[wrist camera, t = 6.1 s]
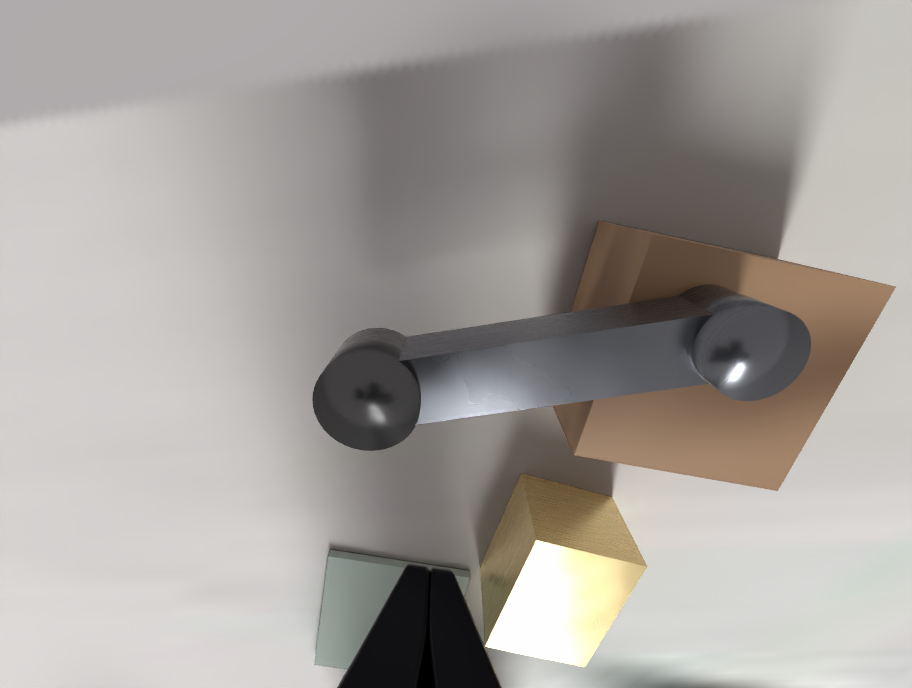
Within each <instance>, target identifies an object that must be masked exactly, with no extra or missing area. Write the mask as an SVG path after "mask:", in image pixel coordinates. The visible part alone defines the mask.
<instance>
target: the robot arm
mask: <svg viewBox="0 0 912 688" xmlns="http://www.w3.org/2000/svg"><path fill="white" fill-rule="evenodd" d="M337 688H502V687H501V685H500V682H499V680H498V677H497V675H496V673H495V670H494V668H493V665H492V663H491V661H490V658H489V656H488V653H487V651H486V649H485V646H484V644H483V641H482V639H481V637H480V634H479V632H478V629H477V627H476V625H475V622H474V620H473V617H472V615H471V613H470V610H469V608H468V605H467V603H466V601H465V598H464V596H463V593H462V591H461V589H460V586H459V584H458V581H457V579H456V577H455V574H454V573H453V571H452V570H450V569H444V568H437V567H432V568H431V569H430V570H429V568H428V567H427V566H424V565H418V564H411V563H410V564H407V565H406V566H405V568H404V570H403V572H402V573H401V575H400V577H399V579H398V580H397V582H396V584H395V586H394V588H393V589H392V591H391V593H390V595H389V596H388V598H387V600H386V602H385V604H384V605H383V607H382V609H381V611H380V613H379V614H378V616H377V618H376V620H375V621H374V623H373V625H372V627H371V629H370V630H369V632H368V634H367V636H366V637H365V639H364V641H363V643H362V645H361V646H360V648H359V650H358V652H357V653H356V655H355V657H354V659H353V661H352V662H351V664H350V666H349V668H348V669H347V671H346V673H345V675H344V677H343V678H342V680H341V682H340V684H339V685H338V687H337Z"/></svg>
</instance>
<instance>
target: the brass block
mask: <svg viewBox="0 0 912 688" xmlns="http://www.w3.org/2000/svg"><path fill="white" fill-rule="evenodd" d="M646 568H647V565H646V563H645V561H644V559H643V557H642V555H641V553H640V551H639V549H638V547H637V545H636V543H635V541H634V539H633V537H632V535H631V533H630V531H629V530H628V528H627V526H626V524H625V522H624V520H623V518H622V516H621V514H620V512H619V510H618V508H617V506H616V504H615V502H614V500H613V498H612V497H611V496H607V495H603V494H599V493H595V492H591V491H587V490H583V489H580V488H576V487H572V486H568V485H564V484H560V483H556V482H552V481H548V480H545V479H541V478H537V477H533V476H529V475H525V474H521V475H520V477H519V480H518V482H517V484H516V487H515V489H514V491H513V493H512V496H511V498H510V500H509V503H508V505H507V507H506V509H505V512H504V514H503V516H502V519H501V521H500V523H499V525H498V528H497V530H496V532H495V535H494V537H493V539H492V542H491V544H490V546H489V548H488V551H487V553H486V555H485V558H484V560H483V562H482V564H481V567H480V576H481V591H482V606H483V621H484V636H485V647H490V648H495V649H499V650H504V651H509V652H514V653H519V654H524V655H528V656H533V657H538V658H543V659H548V660H552V661H557V662H562V663H567V664H572V665H576V666H581V667H585V666H586V665H587V663H588V661H589V660H590V658H591V657H592V655H593V653H594V652H595V650H596V649H597V647H598V645H599V644H600V642H601V640H602V639H603V637H604V636H605V634H606V632H607V631H608V629H609V628H610V626H611V624H612V623H613V621H614V619H615V618H616V616H617V615H618V613H619V611H620V610H621V608H622V607H623V605H624V603H625V602H626V600H627V599H628V597H629V595H630V594H631V592H632V590H633V589H634V587H635V586H636V584H637V582H638V581H639V579H640V578H641V576H642V574H643V573H644V571H645V570H646Z"/></svg>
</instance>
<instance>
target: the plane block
mask: <svg viewBox="0 0 912 688" xmlns="http://www.w3.org/2000/svg"><path fill="white" fill-rule="evenodd" d="M706 284H714V285H719V286H722V287H725V288H728V289H730V290H733V291H735V292H738V293H741V294H743V295H746V296H748V297H751V298H754V299H756V300H759V301H761V302H764V303H767V304H769V305H772V306H774V307H777V308H780V309H782V310H785V311H787V312H790V313H792V314H794V315H796V316H797V317H799V318H800V319H801V320H802V321H803V322H804V323H805V325H806V326H807V328H808V330H809V333H810V337H811V351H810V356H809V359H808V361H807V364H806V366H805V368H804V369H803V371H802V372H801V374H800V375H799V376H798V377H797V378H796V379H795V380H794V381H793V382H792V383H791V384H790V385H789V386H788V387H787V388H785V389H784V390H782V391H781V392H779V393H777V394H775V395H773V396H770V397H768V398H765V399H761V400H756V401H739V400H735V399H731V398H729V397H727V396H725V395H724V394H722V393H721V392H719V391H718V390H717V389H716V388H714V387H713V386H712V385H710V384H703V385H696V386H689V387H682V388H675V389H668V390H661V391H653V392H646V393H639V394H632V395H625V396H618V397H610V398H603V399H596V400H589V401H582V402H575V403H568V404H560V405H553V408H554V410H555V412H556V415H557V417H558V419H559V422H560V424H561V426H562V428H563V431H564V433H565V435H566V438H567V440H568V442H569V445H570V447H571V449H572V451H573V454H574V455H575V456H581V457H587V458H592V459H598V460H604V461H610V462H615V463H621V464H627V465H633V466H638V467H644V468H650V469H655V470H661V471H667V472H673V473H678V474H684V475H690V476H696V477H701V478H707V479H713V480H718V481H724V482H730V483H736V484H741V485H747V486H753V487H759V488H764V489H770V490H776V491H778V489H779V488H780V486H781V484H782V482H783V481H784V479H785V477H786V476H787V474H788V472H789V470H790V469H791V467H792V465H793V463H794V462H795V460H796V458H797V457H798V455H799V453H800V451H801V450H802V448H803V446H804V445H805V443H806V441H807V439H808V438H809V436H810V434H811V432H812V431H813V429H814V427H815V426H816V424H817V422H818V420H819V419H820V417H821V415H822V413H823V412H824V410H825V408H826V407H827V405H828V403H829V401H830V400H831V398H832V396H833V395H834V393H835V391H836V389H837V388H838V386H839V384H840V382H841V381H842V379H843V377H844V376H845V374H846V372H847V370H848V369H849V367H850V365H851V364H852V362H853V360H854V358H855V357H856V355H857V353H858V351H859V350H860V348H861V346H862V345H863V343H864V341H865V339H866V338H867V336H868V334H869V332H870V331H871V329H872V327H873V326H874V324H875V322H876V320H877V319H878V317H879V315H880V314H881V312H882V310H883V308H884V307H885V305H886V303H887V301H888V300H889V298H890V296H891V295H892V293H893V291H894V289H895V288H896V287H895V286H891V285H887V284H882V283H878V282H874V281H869V280H865V279H861V278H857V277H852V276H848V275H844V274H839V273H835V272H831V271H827V270H822V269H818V268H814V267H809V266H805V265H801V264H797V263H792V262H788V261H784V260H779V259H775V258H770V257H766V256H761V255H756V254H752V253H747V252H743V251H738V250H733V249H729V248H724V247H719V246H715V245H710V244H706V243H701V242H696V241H692V240H687V239H682V238H678V237H673V236H669V235H664V234H659V233H655V232H650V231H645V230H641V229H636V228H632V227H627V226H622V225H618V224H613V223H608V222H604V221H599V222H598V225H597V228H596V232H595V235H594V238H593V241H592V245H591V248H590V251H589V254H588V257H587V261H586V264H585V267H584V270H583V274H582V277H581V280H580V283H579V286H578V290H577V293H576V296H575V299H574V303H573V306H572V309H571V312H574V311H581V310H587V309H594V308H601V307H607V306H614V305H620V304H627V303H633V302H640V301H647V300H653V299H660V298H666V297H673V296H679V295H680V294H681V293H683V292H684V291H686V290H688V289H690V288H693V287H696V286H699V285H706Z"/></svg>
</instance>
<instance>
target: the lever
mask: <svg viewBox="0 0 912 688" xmlns="http://www.w3.org/2000/svg"><path fill="white" fill-rule="evenodd" d="M810 351H811V337H810V333H809V330H808V328H807V326H806V325H805V323H804V322H803V321H802V320H801V319H800V318H799V317H797V316H796V315H794V314H792V313H790V312H787V311H785V310H782V309H780V308H777V307H774V306H772V305H769V304H767V303H764V302H761V301H759V300H756V299H754V298H751V297H748V296H746V295H743V294H741V293H738V292H735V291H733V290H730V289H728V288H725V287H722V286H719V285H714V284H706V285H699V286H696V287H693V288H690V289H688V290H686V291H684V292H683V293H681V294H680V295H679V296H673V297H666V298H660V299H653V300H647V301H640V302H633V303H627V304H620V305H614V306H607V307H601V308H594V309H587V310H581V311H574V312H568V313H561V314H555V315H548V316H541V317H535V318H528V319H522V320H515V321H508V322H502V323H495V324H489V325H482V326H476V327H469V328H462V329H456V330H449V331H443V332H436V333H429V334H423V335H416V336H410V337H406V336H404V335H402V334H400V333H398V332H396V331H393V330H389V329H384V328H371V329H366V330H362V331H360V332H357V333H356V334H354V335H352V336H351V337H349V338H348V339H347V340H346V341H345V342H344V343H343V345H342V346H341V347H340V349H339V350H338V351H337V353H336V354H335V356H334V357H333V358H332V360H331V361H330V363H329V364H328V366H327V367H326V368H325V370H324V371H323V373H322V374H321V375H320V377H319V379H318V380H317V382H316V385H315V387H314V392H313V408H314V412H315V415H316V417H317V419H318V421H319V423H320V425H321V426H322V427H323V429H324V430H325V431H326V432H327V433H328V434H329V435H330V436H331V437H332V438H334V439H335V440H337V441H338V442H340V443H342V444H344V445H346V446H349V447H351V448H355V449H359V450H368V451H373V450H382V449H386V448H389V447H392V446H394V445H396V444H398V443H400V442H401V441H403V440H404V439H405V438H406V437H408V435H409V434H410V433H411V432H412V431H413V429H414V428H415V426H416V425H418V424H425V423H432V422H439V421H446V420H453V419H460V418H468V417H475V416H482V415H489V414H496V413H503V412H510V411H518V410H525V409H532V408H539V407H546V406H553V405H560V404H568V403H575V402H582V401H589V400H596V399H603V398H610V397H618V396H625V395H632V394H639V393H646V392H653V391H661V390H668V389H675V388H682V387H689V386H696V385H703V384H710V385H712V386H713V387H714V388H716V389H717V390H718V391H719V392H721V393H722V394H724V395H725V396H727V397H729V398H731V399H735V400H739V401H756V400H761V399H765V398H768V397H770V396H773V395H775V394H777V393H779V392H781V391H782V390H784V389H785V388H787V387H788V386H789V385H790V384H791V383H792V382H793V381H794V380H795V379H796V378H797V377H798V376H799V375H800V374H801V372H802V371H803V369H804V368H805V366H806V364H807V361H808V359H809V356H810Z"/></svg>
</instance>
